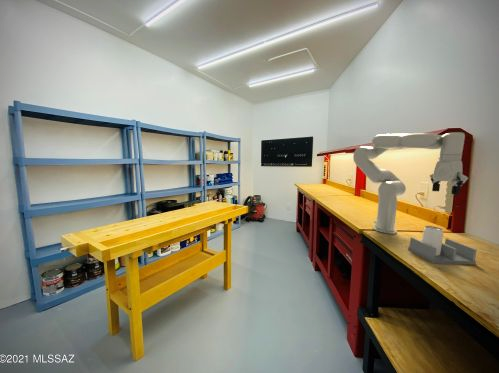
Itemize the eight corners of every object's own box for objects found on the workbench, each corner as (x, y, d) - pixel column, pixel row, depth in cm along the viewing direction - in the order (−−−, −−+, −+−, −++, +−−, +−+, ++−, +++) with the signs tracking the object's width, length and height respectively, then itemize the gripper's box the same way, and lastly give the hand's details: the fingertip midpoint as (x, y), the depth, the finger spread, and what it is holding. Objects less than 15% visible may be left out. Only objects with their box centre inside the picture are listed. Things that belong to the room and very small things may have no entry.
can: (432, 256, 83) (436, 230, 81) (417, 250, 89) (420, 225, 88) (443, 255, 84) (447, 230, 83) (427, 249, 91) (431, 225, 89)
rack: (408, 249, 93) (409, 236, 92) (444, 250, 93) (446, 238, 92) (433, 263, 80) (435, 248, 80) (475, 264, 80) (478, 250, 79)
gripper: (426, 158, 102) (422, 190, 104) (461, 157, 84) (455, 195, 87) (440, 159, 102) (435, 190, 104) (478, 158, 84) (472, 195, 86)
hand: (444, 192), depth 95 cm, fingers open, 9 cm apart
